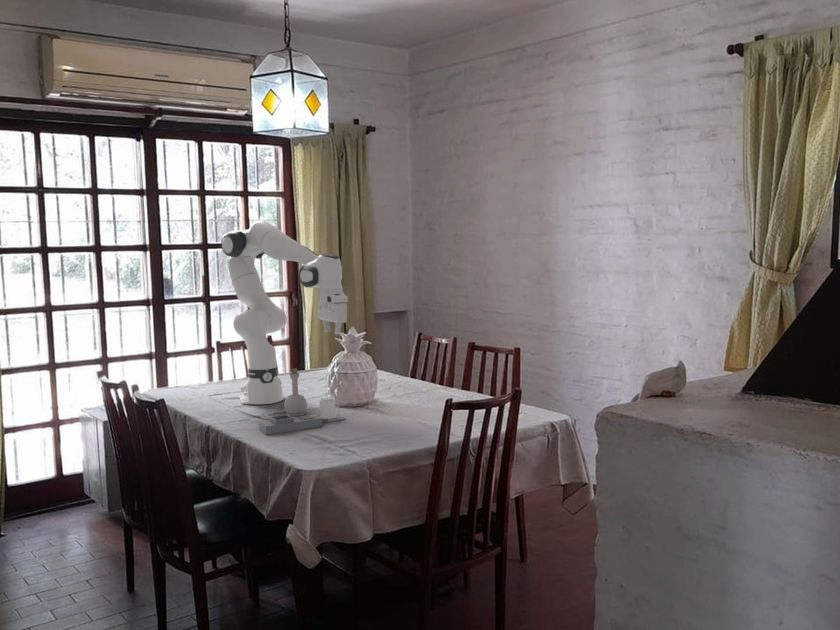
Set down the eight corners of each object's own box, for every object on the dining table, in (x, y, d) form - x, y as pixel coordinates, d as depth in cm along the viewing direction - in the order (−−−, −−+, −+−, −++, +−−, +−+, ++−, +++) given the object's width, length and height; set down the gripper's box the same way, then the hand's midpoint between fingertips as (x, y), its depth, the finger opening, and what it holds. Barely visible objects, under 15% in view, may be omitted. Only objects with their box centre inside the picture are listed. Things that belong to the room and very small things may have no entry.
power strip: (259, 430, 279) (259, 418, 279) (324, 421, 291) (324, 409, 291) (265, 434, 273) (265, 422, 273) (331, 424, 285) (331, 412, 284)
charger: (320, 417, 295) (319, 398, 295) (331, 415, 297) (330, 396, 297) (324, 419, 291) (323, 400, 291) (335, 417, 294) (335, 398, 293)
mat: (310, 418, 296) (310, 416, 296) (335, 414, 301) (335, 413, 301) (320, 423, 288) (320, 421, 288) (345, 419, 292) (345, 418, 292)
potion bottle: (285, 417, 299) (283, 370, 297) (284, 412, 308) (282, 366, 306) (308, 415, 301) (306, 369, 299) (307, 410, 309) (305, 365, 307)
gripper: (313, 295, 306) (314, 331, 308) (333, 298, 288) (335, 336, 290) (328, 294, 309) (329, 329, 311) (349, 297, 291) (351, 335, 293)
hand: (332, 333), depth 300 cm, fingers open, 8 cm apart
